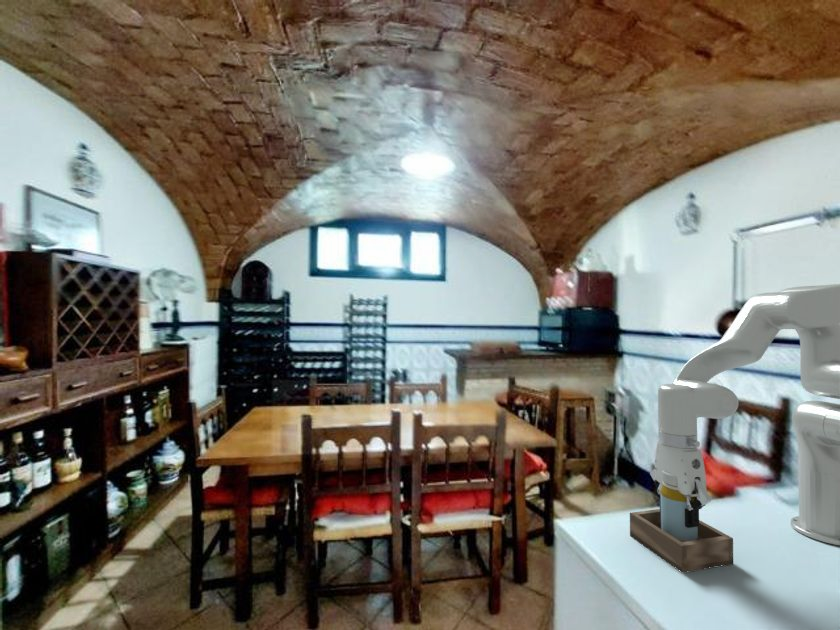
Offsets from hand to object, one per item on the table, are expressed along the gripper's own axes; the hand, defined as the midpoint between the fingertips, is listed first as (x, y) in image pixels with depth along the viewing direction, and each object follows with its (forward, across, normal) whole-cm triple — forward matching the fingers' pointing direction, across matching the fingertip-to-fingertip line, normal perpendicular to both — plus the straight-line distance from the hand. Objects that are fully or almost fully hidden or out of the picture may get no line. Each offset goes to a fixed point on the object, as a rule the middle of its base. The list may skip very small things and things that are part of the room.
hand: (678, 518), depth 94 cm
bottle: (+5, 0, 0) cm, 5 cm away
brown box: (+7, 0, 0) cm, 7 cm away
